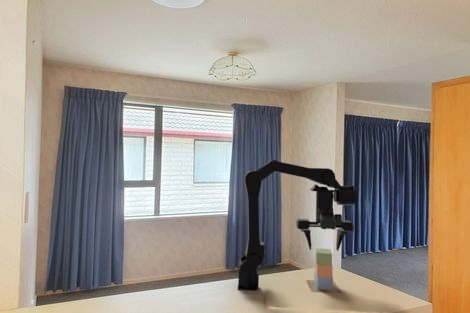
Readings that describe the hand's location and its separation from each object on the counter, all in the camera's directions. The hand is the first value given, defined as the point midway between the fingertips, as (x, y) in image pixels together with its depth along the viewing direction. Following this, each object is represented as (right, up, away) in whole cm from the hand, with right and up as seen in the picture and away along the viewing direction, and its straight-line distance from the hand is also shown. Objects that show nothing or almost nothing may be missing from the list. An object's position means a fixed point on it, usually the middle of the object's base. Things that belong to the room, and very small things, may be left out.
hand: (323, 249), depth 120 cm
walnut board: (0, -13, -1) cm, 13 cm away
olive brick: (0, -4, 0) cm, 4 cm away
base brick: (0, -12, -1) cm, 12 cm away
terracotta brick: (0, -8, 0) cm, 8 cm away
